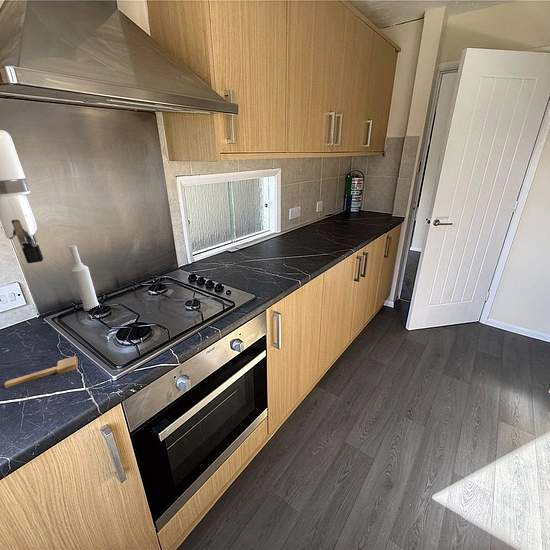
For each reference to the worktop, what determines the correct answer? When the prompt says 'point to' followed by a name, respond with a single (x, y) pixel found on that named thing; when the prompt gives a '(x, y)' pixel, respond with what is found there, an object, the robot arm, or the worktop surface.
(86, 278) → the bottle
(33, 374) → the wooden spatula
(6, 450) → the worktop surface
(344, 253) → the worktop surface
